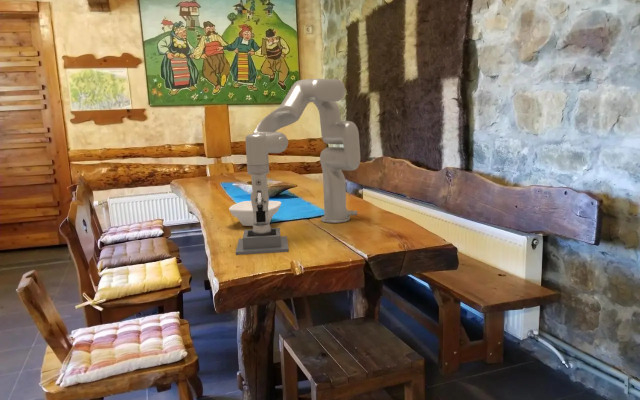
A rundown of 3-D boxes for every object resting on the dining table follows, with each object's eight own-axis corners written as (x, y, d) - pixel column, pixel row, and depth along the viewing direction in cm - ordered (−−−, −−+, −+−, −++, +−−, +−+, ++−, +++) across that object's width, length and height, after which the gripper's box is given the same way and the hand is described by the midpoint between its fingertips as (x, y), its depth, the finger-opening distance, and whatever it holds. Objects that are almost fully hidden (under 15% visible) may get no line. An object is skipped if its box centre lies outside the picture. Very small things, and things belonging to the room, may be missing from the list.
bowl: (272, 231, 193) (271, 210, 191) (224, 230, 197) (223, 210, 195) (286, 219, 213) (285, 200, 211) (242, 218, 217) (241, 200, 215)
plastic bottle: (264, 240, 167) (260, 184, 163) (249, 238, 170) (245, 182, 167) (275, 236, 172) (272, 181, 168) (260, 234, 176) (257, 180, 172)
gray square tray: (286, 238, 181) (286, 225, 180) (288, 251, 164) (287, 237, 163) (238, 241, 179) (238, 228, 178) (235, 254, 163) (234, 240, 162)
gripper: (269, 172, 159) (272, 225, 162) (269, 166, 175) (271, 214, 179) (246, 173, 158) (249, 226, 161) (248, 167, 175) (251, 215, 178)
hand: (261, 219), depth 170 cm, fingers closed on plastic bottle, 5 cm apart
